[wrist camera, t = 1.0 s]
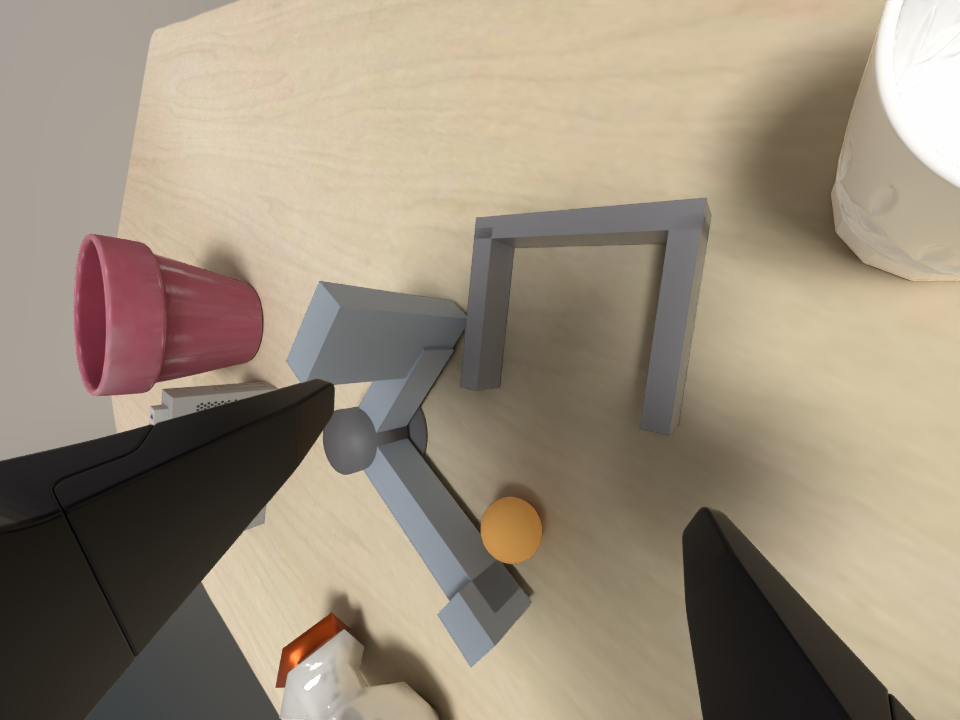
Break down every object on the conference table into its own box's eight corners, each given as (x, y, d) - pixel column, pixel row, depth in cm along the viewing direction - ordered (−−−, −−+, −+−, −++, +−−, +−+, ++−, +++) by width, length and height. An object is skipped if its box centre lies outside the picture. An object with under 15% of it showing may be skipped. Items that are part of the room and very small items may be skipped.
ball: (558, 548, 22) (530, 577, 19) (508, 547, 24) (476, 573, 21) (543, 486, 23) (513, 507, 20) (495, 490, 25) (462, 510, 22)
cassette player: (265, 522, 43) (150, 564, 35) (253, 511, 44) (141, 549, 36) (278, 388, 40) (158, 399, 32) (266, 381, 42) (148, 390, 34)
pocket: (678, 425, 18) (669, 435, 16) (484, 383, 25) (460, 387, 23) (711, 215, 17) (705, 197, 15) (499, 228, 24) (476, 217, 22)
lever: (651, 492, 19) (580, 598, 11) (501, 630, 24) (380, 768, 16) (440, 290, 26) (307, 266, 18) (361, 430, 31) (232, 458, 23)
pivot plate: (442, 431, 27) (439, 432, 27) (399, 493, 30) (396, 494, 30) (389, 366, 30) (386, 366, 30) (354, 428, 33) (351, 429, 33)
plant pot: (208, 317, 50) (63, 309, 39) (246, 233, 43) (84, 197, 33) (242, 408, 45) (88, 427, 34) (290, 330, 38) (117, 324, 28)
